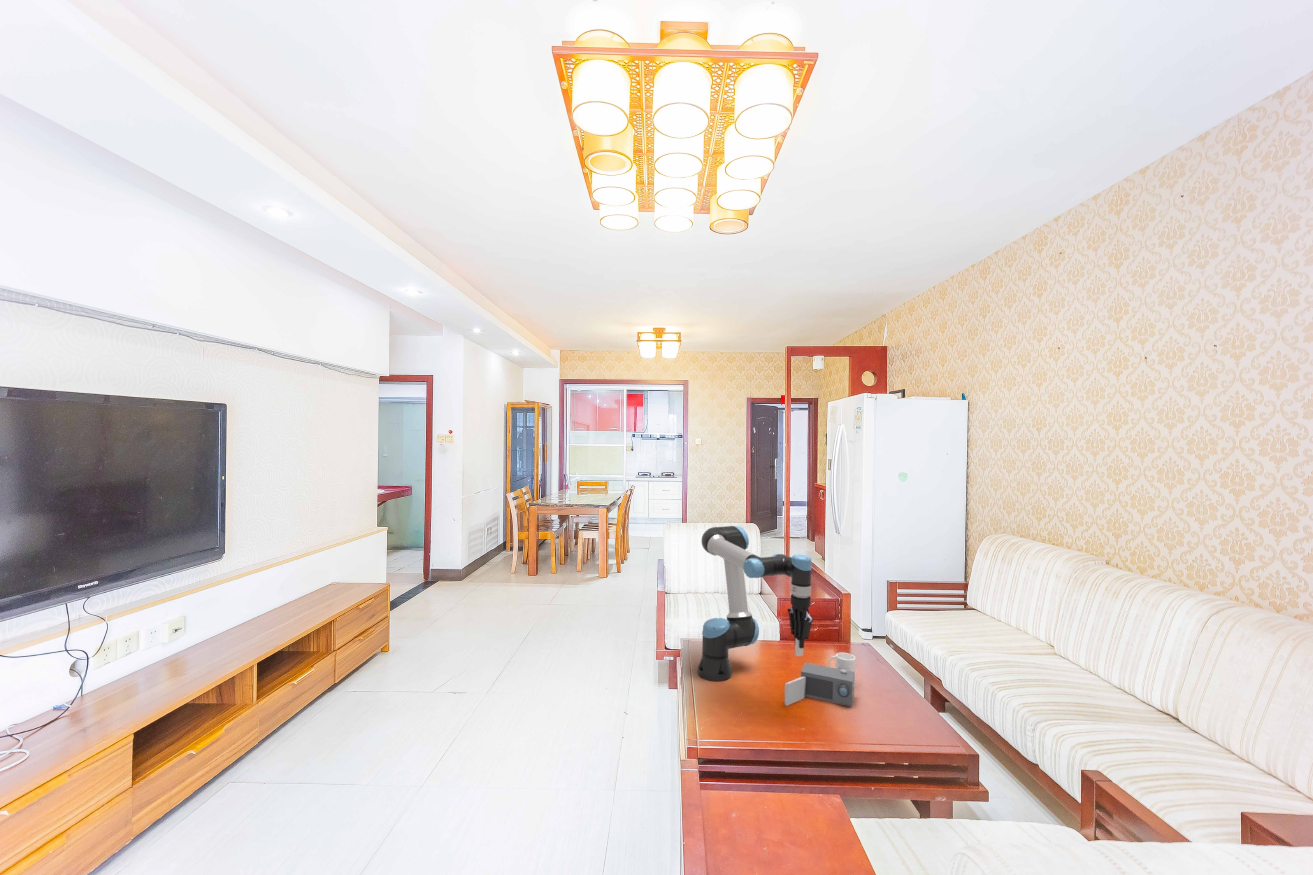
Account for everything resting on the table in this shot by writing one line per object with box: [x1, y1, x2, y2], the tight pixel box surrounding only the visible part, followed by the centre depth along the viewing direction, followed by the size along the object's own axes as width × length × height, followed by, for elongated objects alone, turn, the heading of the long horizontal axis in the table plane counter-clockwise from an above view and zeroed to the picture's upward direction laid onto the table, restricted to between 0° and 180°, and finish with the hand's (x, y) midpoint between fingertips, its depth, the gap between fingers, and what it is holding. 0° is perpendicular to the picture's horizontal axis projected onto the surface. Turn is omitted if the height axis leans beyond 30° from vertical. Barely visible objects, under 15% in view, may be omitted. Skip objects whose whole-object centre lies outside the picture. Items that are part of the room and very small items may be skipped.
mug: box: [828, 652, 856, 688], centre depth 234 cm, size 12×8×12 cm
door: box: [783, 676, 806, 707], centre depth 217 cm, size 12×2×8 cm, turn 127°
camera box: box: [800, 662, 856, 708], centre depth 221 cm, size 20×12×11 cm, turn 65°
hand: (799, 654), depth 211 cm, fingers closed
